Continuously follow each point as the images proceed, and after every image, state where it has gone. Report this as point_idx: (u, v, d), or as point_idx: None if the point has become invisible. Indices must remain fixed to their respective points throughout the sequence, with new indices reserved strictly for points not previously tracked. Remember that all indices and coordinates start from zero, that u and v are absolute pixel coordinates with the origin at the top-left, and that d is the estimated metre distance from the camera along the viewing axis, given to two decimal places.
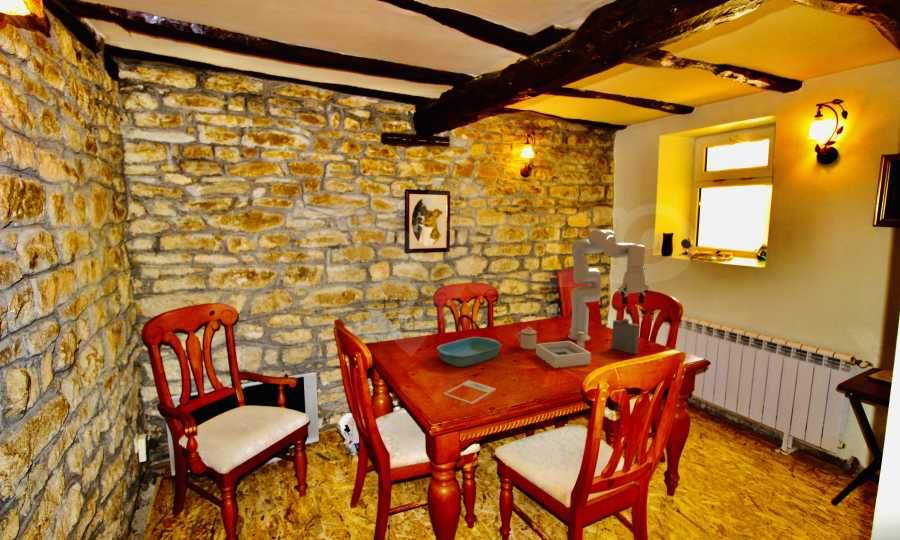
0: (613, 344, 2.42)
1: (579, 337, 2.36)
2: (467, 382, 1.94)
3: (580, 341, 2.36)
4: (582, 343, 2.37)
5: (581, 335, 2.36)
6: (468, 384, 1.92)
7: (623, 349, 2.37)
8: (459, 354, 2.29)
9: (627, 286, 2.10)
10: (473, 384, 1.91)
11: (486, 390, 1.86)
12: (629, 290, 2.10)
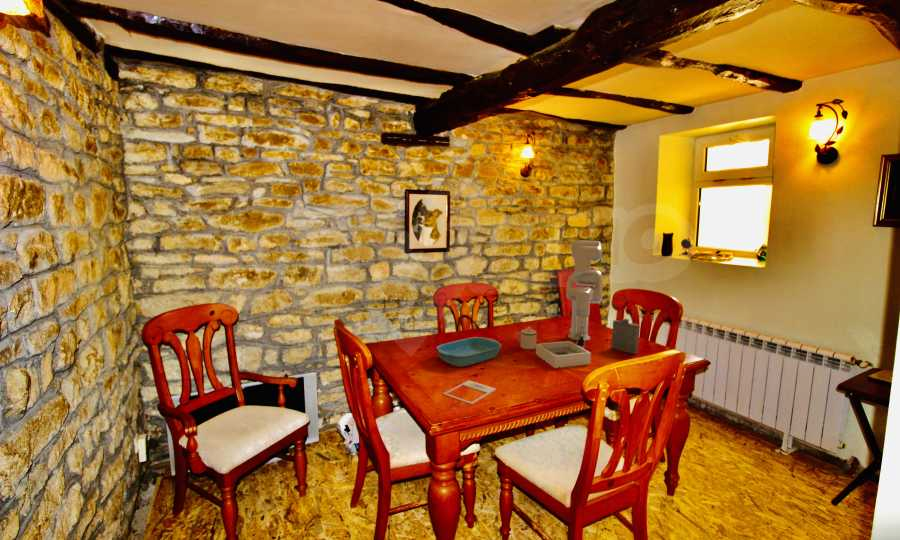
0: (613, 344, 2.42)
1: None
2: (467, 382, 1.94)
3: None
4: None
5: None
6: (468, 384, 1.92)
7: (623, 349, 2.37)
8: (459, 354, 2.29)
9: (584, 331, 2.32)
10: (473, 384, 1.91)
11: (486, 390, 1.86)
12: (585, 332, 2.33)
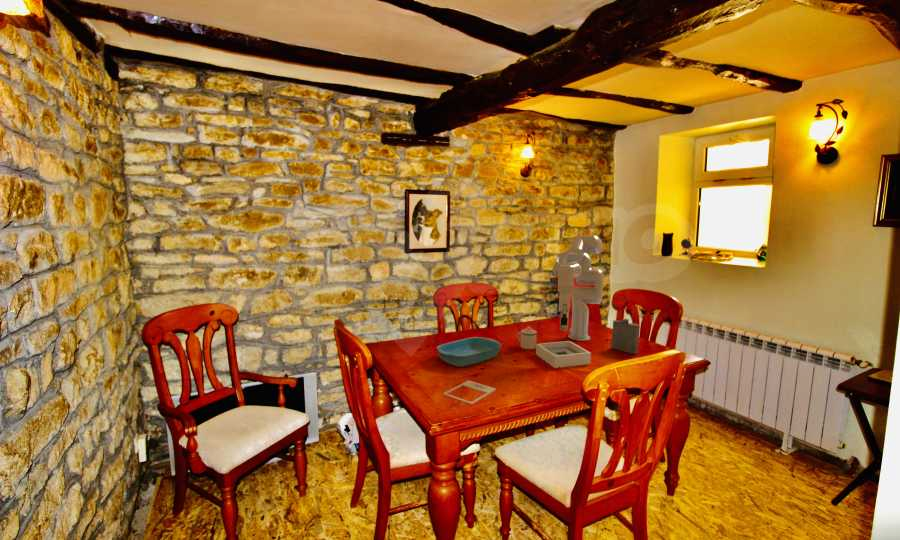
0: (613, 344, 2.42)
1: None
2: (467, 382, 1.94)
3: None
4: None
5: None
6: (468, 384, 1.92)
7: (623, 349, 2.37)
8: (459, 354, 2.29)
9: (567, 309, 2.16)
10: (473, 384, 1.91)
11: (486, 390, 1.86)
12: (568, 309, 2.17)
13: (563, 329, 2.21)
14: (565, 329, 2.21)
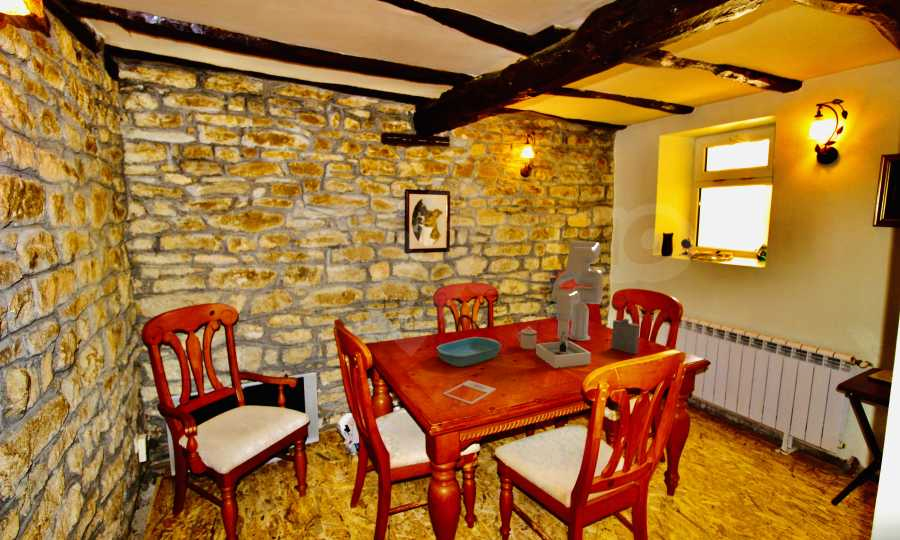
0: (613, 344, 2.42)
1: None
2: (467, 382, 1.94)
3: None
4: (564, 352, 2.22)
5: None
6: (468, 384, 1.92)
7: (623, 349, 2.37)
8: (459, 354, 2.29)
9: (566, 334, 2.18)
10: (473, 384, 1.91)
11: (486, 390, 1.86)
12: (567, 337, 2.19)
13: None
14: None
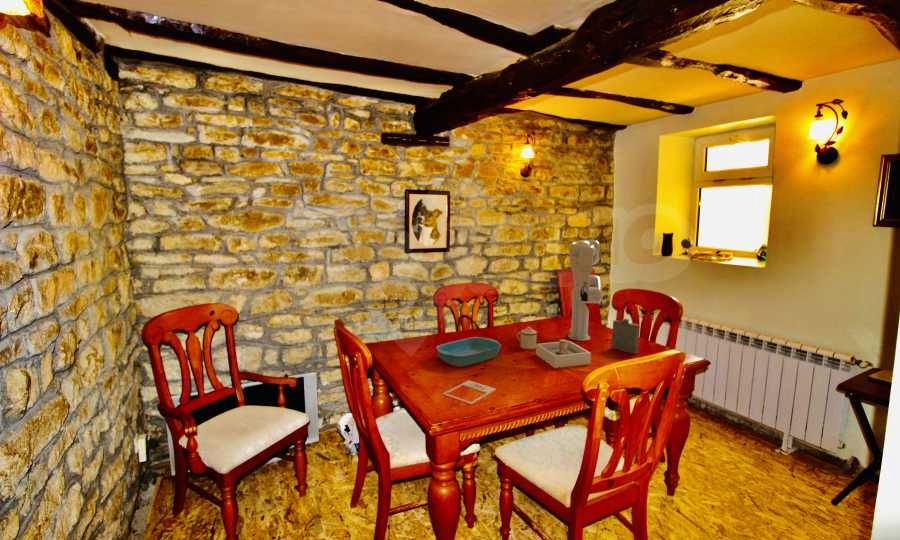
0: (613, 344, 2.42)
1: (561, 345, 2.22)
2: (467, 382, 1.94)
3: (562, 350, 2.22)
4: (564, 352, 2.22)
5: (563, 343, 2.22)
6: (468, 384, 1.92)
7: (623, 349, 2.37)
8: (459, 354, 2.29)
9: (588, 284, 2.31)
10: (473, 384, 1.91)
11: (486, 390, 1.86)
12: (588, 287, 2.32)
13: None
14: None
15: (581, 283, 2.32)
